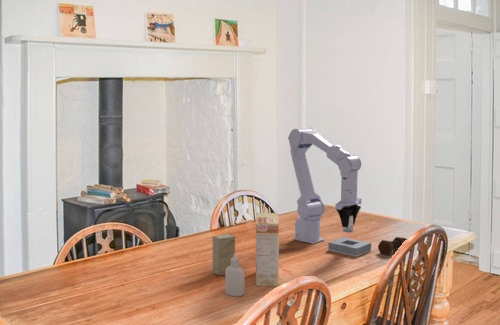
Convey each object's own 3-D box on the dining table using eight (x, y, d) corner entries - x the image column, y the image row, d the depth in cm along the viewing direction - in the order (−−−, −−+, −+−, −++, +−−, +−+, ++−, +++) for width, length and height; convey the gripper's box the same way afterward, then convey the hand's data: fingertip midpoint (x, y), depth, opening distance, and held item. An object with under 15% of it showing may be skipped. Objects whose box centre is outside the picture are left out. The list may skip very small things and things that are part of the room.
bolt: (406, 251, 217) (385, 258, 207) (396, 243, 220) (375, 249, 209) (414, 240, 215) (393, 246, 204) (403, 231, 218) (383, 237, 207)
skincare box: (219, 276, 183) (219, 239, 181) (212, 272, 186) (211, 235, 185) (235, 272, 186) (235, 236, 185) (228, 269, 190) (228, 233, 188)
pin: (341, 231, 210) (341, 215, 209) (345, 229, 213) (345, 213, 212) (350, 232, 208) (350, 216, 207) (354, 230, 211) (354, 214, 210)
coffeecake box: (256, 270, 188) (256, 212, 186) (277, 270, 188) (278, 212, 186) (255, 286, 174) (255, 223, 171) (278, 286, 173) (279, 223, 171)
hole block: (328, 250, 212) (328, 242, 211) (342, 244, 219) (343, 237, 219) (356, 256, 204) (356, 248, 204) (370, 250, 211) (371, 242, 211)
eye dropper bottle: (236, 290, 170) (236, 250, 169) (246, 295, 166) (246, 255, 164) (223, 292, 168) (223, 252, 167) (233, 298, 163) (232, 257, 162)
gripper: (347, 193, 200) (346, 231, 202) (369, 187, 211) (368, 224, 213) (330, 190, 205) (329, 228, 207) (352, 185, 216) (351, 221, 217)
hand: (348, 225), depth 210 cm, fingers closed on pin, 4 cm apart
